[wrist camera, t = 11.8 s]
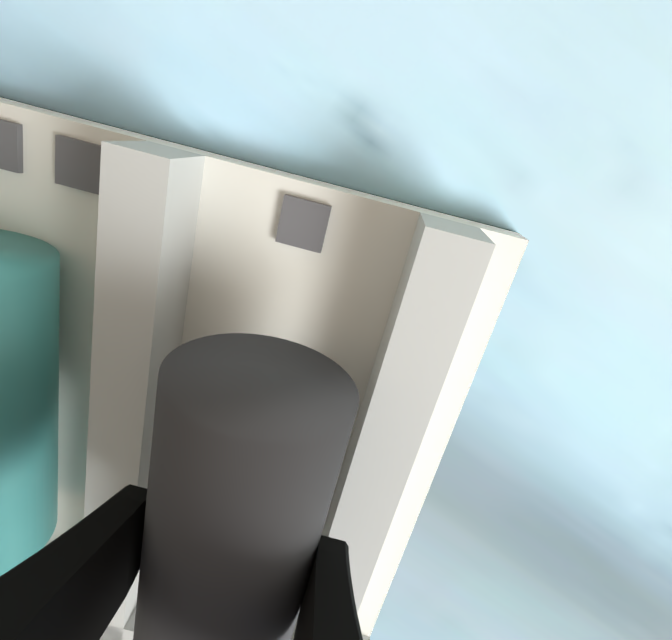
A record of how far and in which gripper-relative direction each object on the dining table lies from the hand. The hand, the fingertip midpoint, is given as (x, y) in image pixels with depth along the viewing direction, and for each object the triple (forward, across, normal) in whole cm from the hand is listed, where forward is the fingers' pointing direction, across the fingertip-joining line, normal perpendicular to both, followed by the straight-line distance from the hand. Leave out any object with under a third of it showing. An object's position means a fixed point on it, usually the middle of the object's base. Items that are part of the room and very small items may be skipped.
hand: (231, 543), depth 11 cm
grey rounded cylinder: (+2, 0, 0) cm, 2 cm away
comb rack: (+5, +4, 0) cm, 6 cm away
